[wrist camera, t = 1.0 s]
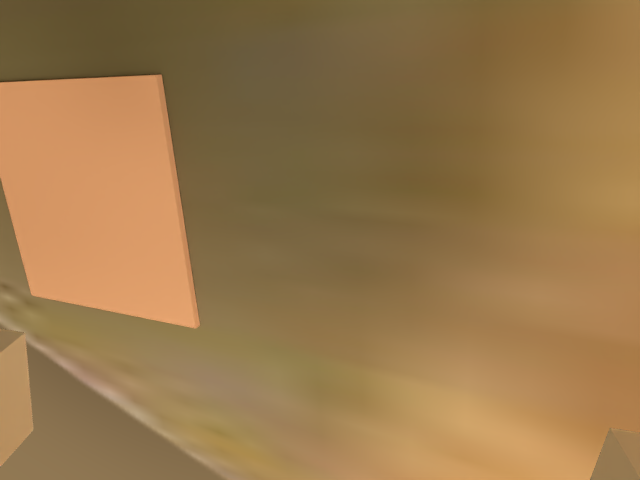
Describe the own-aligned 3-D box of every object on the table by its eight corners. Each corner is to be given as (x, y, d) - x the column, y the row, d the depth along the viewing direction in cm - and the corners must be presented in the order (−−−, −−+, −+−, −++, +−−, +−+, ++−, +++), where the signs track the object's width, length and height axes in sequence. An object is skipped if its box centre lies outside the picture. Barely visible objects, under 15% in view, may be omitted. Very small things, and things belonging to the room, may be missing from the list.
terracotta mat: (-18, 83, 33) (-25, 83, 32) (161, 74, 27) (156, 75, 26) (36, 292, 37) (31, 295, 37) (199, 325, 31) (195, 328, 31)
